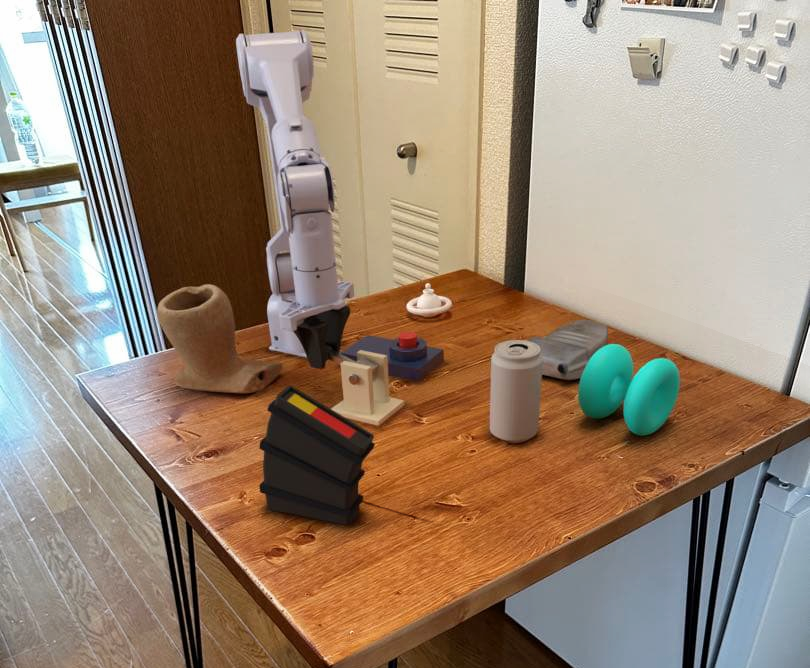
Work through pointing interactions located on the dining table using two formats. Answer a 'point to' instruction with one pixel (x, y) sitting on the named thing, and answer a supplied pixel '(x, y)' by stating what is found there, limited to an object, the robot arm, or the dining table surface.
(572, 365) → the handheld device
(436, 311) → the ring around a ball
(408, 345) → the red push button
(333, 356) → the toggle
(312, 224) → the robot arm
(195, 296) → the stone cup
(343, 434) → the magazine
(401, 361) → the push button base
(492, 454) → the dining table surface
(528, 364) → the beverage can
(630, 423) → the turquoise spool
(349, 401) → the switch box
